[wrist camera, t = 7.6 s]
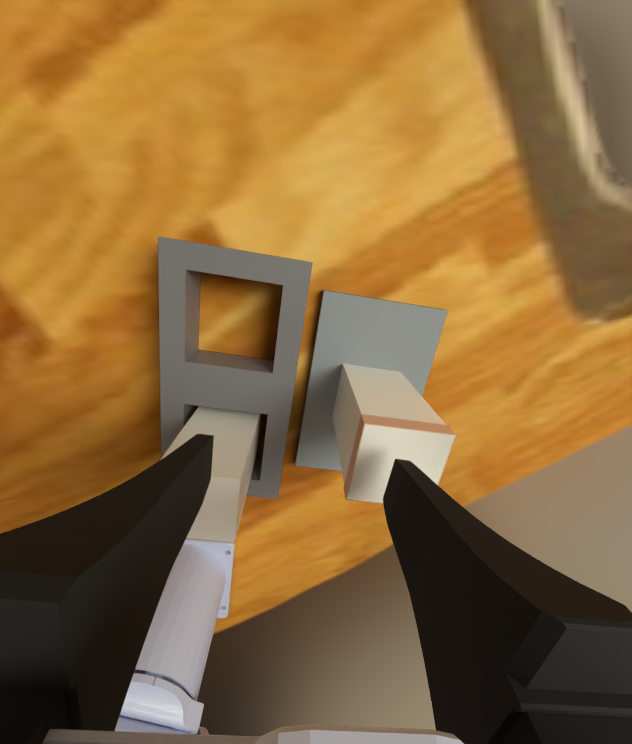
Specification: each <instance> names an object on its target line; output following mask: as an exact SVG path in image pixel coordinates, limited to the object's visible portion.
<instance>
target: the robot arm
mask: <svg viewBox="0 0 632 744" xmlns="http://www.w3.org/2000/svg"><path fill="white" fill-rule="evenodd" d="M213 441H214V436H213V435H205V434H196V435H195V436H193V437H192V438H191V439H189V440H188V441H187V442H185V443H184V444H182V445H181V446H180V447H178V448H177V449H176V450H174V451H173V452H171V453H170V454H169V455H167V456H166V457H164V458H163V459H161V460H160V461H159V462H157V463H156V464H154V465H152V466H151V467H149V468H148V469H146V470H145V471H143V472H141V473H140V474H138V475H137V476H135V477H133V478H132V479H130V480H128V481H126V482H124V483H123V484H121V485H119V486H117V487H115V488H113V489H111V490H109V491H107V492H105V493H103V494H101V495H99V496H97V497H95V498H92V499H90V500H88V501H86V502H83V503H81V504H79V505H77V506H74V507H72V508H70V509H68V510H65V511H63V512H60V513H58V514H55V515H53V516H50V517H47V518H45V519H42V520H39V521H37V522H34V523H31V524H28V525H26V526H23V527H20V528H17V529H14V530H11V531H8V532H4V533H1V534H0V744H632V613H631V611H630V610H628V608H627V607H626V606H625V605H623V604H621V603H619V602H617V601H615V600H613V599H611V598H609V597H607V596H605V595H603V594H601V593H599V592H597V591H595V590H593V589H591V588H589V587H586V586H585V585H582V584H580V583H578V582H577V581H575V580H573V579H571V578H569V577H567V576H565V575H563V574H562V573H560V572H558V571H556V570H554V569H553V568H551V567H549V566H547V565H546V564H544V563H542V562H540V561H539V560H537V559H535V558H534V557H532V556H531V555H529V554H527V553H526V552H524V551H522V550H521V549H519V548H518V547H516V546H515V545H513V544H511V543H510V542H509V541H507V540H506V539H504V538H503V537H501V536H500V535H498V534H497V533H496V532H494V531H493V530H492V529H490V528H489V527H487V526H486V525H485V524H483V523H482V522H481V521H479V520H478V519H477V518H475V517H474V516H473V515H472V514H470V513H469V512H468V511H467V510H466V509H464V508H463V507H462V506H461V505H459V504H458V503H457V502H456V501H455V500H454V499H452V498H451V497H450V496H449V495H448V494H447V493H446V492H445V491H443V490H442V489H441V488H440V487H439V486H438V485H437V484H436V483H435V482H433V481H432V480H431V479H430V478H429V477H428V476H427V475H426V474H425V473H424V472H423V471H421V470H420V469H419V468H418V467H417V466H416V465H415V464H413V463H412V462H411V461H410V460H402V459H395V461H394V464H393V467H392V470H391V474H390V477H389V480H388V483H387V487H386V490H385V493H384V496H383V504H384V509H385V515H386V520H387V524H388V528H389V531H390V534H391V537H392V540H393V543H394V546H395V549H396V552H397V555H398V558H399V561H400V565H401V567H402V571H403V574H404V576H405V580H406V583H407V586H408V590H409V593H410V597H411V601H412V606H413V610H414V614H415V619H416V623H417V628H418V633H419V638H420V643H421V648H422V652H423V657H424V662H425V668H426V673H427V679H428V684H429V689H430V695H431V701H432V707H433V714H434V720H435V726H436V730H431V729H429V730H428V729H407V728H383V727H359V726H358V727H357V726H335V725H334V726H333V725H311V724H310V725H299V726H288V727H281V728H279V729H276V730H274V731H272V732H269V733H267V734H265V735H263V736H260V737H253V736H227V735H226V736H225V735H209V734H208V731H207V729H206V728H203V727H199V725H200V720H201V716H202V711H203V707H204V704H203V703H200V702H197V697H198V693H199V689H200V685H201V680H202V676H203V672H204V668H205V664H206V660H207V656H208V652H209V648H210V644H211V640H212V636H213V632H214V627H215V623H216V619H217V618H225V617H227V616H228V612H229V601H230V591H231V580H232V569H233V558H234V548H235V544H234V542H227V541H216V540H204V539H193V538H187V535H188V533H189V531H190V529H191V527H192V525H193V523H194V521H195V519H196V517H197V515H198V512H199V510H200V508H201V506H202V504H203V501H204V498H205V495H206V492H207V489H208V486H209V483H210V480H211V470H212V456H213Z"/></svg>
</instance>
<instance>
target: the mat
mask: <svg viewBox="0 0 632 744" xmlns="http://www.w3.org/2000/svg"><path fill="white" fill-rule="evenodd" d="M447 312H448V311H447V310H444V309H438V308H432V307H426V306H420V305H413V304H407V303H401V302H395V301H389V300H383V299H376V298H370V297H364V296H358V295H352V294H346V293H339V292H333V291H327V290H323V296H322V302H321V308H320V314H319V320H318V327H317V333H316V339H315V345H314V351H313V357H312V363H311V369H310V376H309V382H308V388H307V394H306V400H305V406H304V412H303V418H302V425H301V431H300V437H299V443H298V449H297V455H296V462H295V466H301V467H310V468H319V469H328V470H337V471H342V468H341V463H340V457H339V451H338V446H337V440H336V434H335V429H334V423H333V418H332V415H333V410H334V405H335V400H336V395H337V390H338V385H339V380H340V375H341V370H342V365H343V364H349V365H356V366H363V367H370V368H377V369H384V370H391V371H398V372H401V373H402V374H403V375H404V376H405V378H406V379H407V380H408V381H409V382H410V383H411V385H412V386H413V387H414V388H415V389H416V390H417V392H418V393H419V394H420V395H421V396H422V395H423V391H424V388H425V385H426V381H427V378H428V375H429V372H430V368H431V365H432V362H433V358H434V355H435V352H436V349H437V345H438V342H439V339H440V335H441V332H442V329H443V326H444V322H445V319H446V316H447Z"/></svg>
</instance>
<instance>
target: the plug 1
mask: <svg viewBox="0 0 632 744" xmlns="http://www.w3.org/2000/svg"><path fill="white" fill-rule="evenodd" d="M260 423H261V414H260V413H252V412H244V411H236V410H228V409H220V408H212V407H204V406H199V407H198V408H197V410H196V411H195V412H194V414H193V415H192V416H191V418H190V419H189V421H188V422H187V423H186V425H185V426H184V428H183V429H182V430H181V432H180V433H179V434H178V436H177V437H176V439H175V440H174V441H173V443H172V444H171V446H170V447H169V448H168V450H167V451H166V452H165V454H164V455H163V457H162V458H161V459H163V458H164V457H166V456H167V455H169V454H170V453H171V452H173V451H174V450H176V449H177V448H178V447H180V446H181V445H182V444H184V443H185V442H187V441H188V440H189V439H191V438H192V437H193V436H195V435H196V434H205V435H213V436H214V441H213V456H212V470H211V480H210V483H209V486H208V489H207V492H206V495H205V498H204V501H203V504H202V506H201V508H200V510H199V512H198V515H197V517H196V519H195V521H194V523H193V525H192V527H191V529H190V531H189V533H188V535H187V538H193V539H204V540H216V541H227V542H235V539H236V535H237V531H238V527H239V523H240V519H241V515H242V511H243V507H244V503H245V499H246V495H247V491H248V487H249V483H250V479H251V475H252V470H253V466H254V462H255V458H256V454H257V450H258V441H259V432H260ZM161 459H160V460H161Z"/></svg>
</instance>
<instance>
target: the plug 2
mask: <svg viewBox="0 0 632 744" xmlns="http://www.w3.org/2000/svg"><path fill="white" fill-rule="evenodd" d="M332 418H333V423H334V429H335V434H336V440H337V446H338V451H339V457H340V463H341V468H342V474H343V479H344V493H345V498H346V500H352V501H361V502H371V503H381V504H383V496H384V493H385V490H386V487H387V483H388V480H389V477H390V474H391V470H392V467H393V464H394V461H395V459H402V460H410V461H411V462H412V463H413V464H415V465H416V466H417V467H418V468H419V469H420V470H421V471H423V472H424V473H425V474H426V475H427V476H428V477H429V478H430V479H431V480H432V481H433V482H435V483H436V484H437V485H439V482H440V479H441V476H442V474H443V471H444V468H445V465H446V463H447V460H448V457H449V454H450V452H451V449H452V446H453V444H454V441H455V438H456V435H457V434H456V433H455V432H454V431H453V430H452V429H451V428H450V426H449V425H446V424H445V423H444V422H443V421H442V419H441V418H440V417H439V416H438V415H437V414H436V413H435V411H434V410H433V409H432V408H431V407H430V406H429V404H428V403H427V402H426V401H425V400H424V399H423V397H422V396H421V395H420V394H419V393H418V392H417V390H416V389H415V388H414V387H413V386H412V385H411V383H410V382H409V381H408V380H407V379H406V378H405V376H404V375H403V374H402V373H401V372H398V371H391V370H384V369H377V368H370V367H363V366H356V365H349V364H343V365H342V370H341V375H340V380H339V385H338V390H337V395H336V400H335V405H334V410H333V415H332Z"/></svg>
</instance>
